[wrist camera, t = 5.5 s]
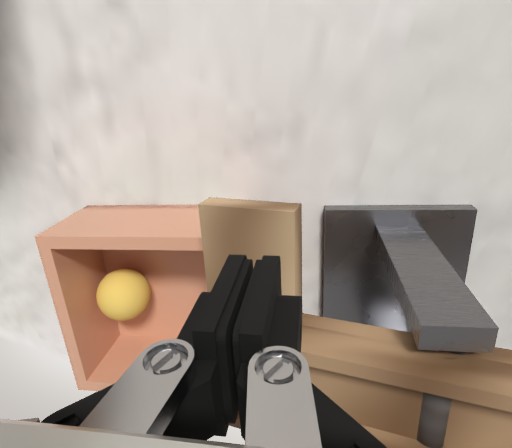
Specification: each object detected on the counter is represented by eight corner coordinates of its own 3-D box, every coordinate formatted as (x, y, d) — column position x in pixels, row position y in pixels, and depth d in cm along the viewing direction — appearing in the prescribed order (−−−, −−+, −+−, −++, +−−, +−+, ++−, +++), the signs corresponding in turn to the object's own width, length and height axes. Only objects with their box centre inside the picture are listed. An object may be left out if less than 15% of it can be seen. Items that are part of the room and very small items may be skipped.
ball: (107, 291, 21) (81, 274, 23) (117, 338, 22) (92, 318, 24) (156, 269, 23) (129, 255, 25) (164, 313, 24) (137, 296, 26)
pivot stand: (471, 205, 21) (601, 307, 11) (446, 350, 24) (531, 518, 15) (324, 205, 22) (336, 300, 13) (322, 345, 25) (330, 498, 16)
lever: (859, 240, 9) (1028, 304, 7) (708, 502, 13) (781, 609, 10) (211, 196, 16) (173, 219, 13) (229, 378, 20) (201, 424, 17)
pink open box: (245, 204, 22) (228, 237, 18) (253, 343, 26) (242, 400, 21) (87, 205, 24) (34, 236, 19) (116, 337, 28) (78, 389, 23)
